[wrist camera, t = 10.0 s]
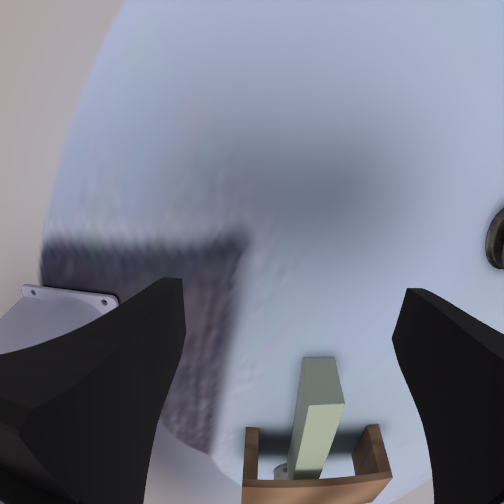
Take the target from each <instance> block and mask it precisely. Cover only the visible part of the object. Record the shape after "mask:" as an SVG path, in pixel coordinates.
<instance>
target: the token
mask: <svg viewBox="0 0 504 504" xmlns="http://www.w3.org/2000/svg"><path fill="white" fill-rule="evenodd" d="M274 480H288V473H287V463H285V464H282V465H279V466H278V467H276V468H275V470H274Z"/></svg>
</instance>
